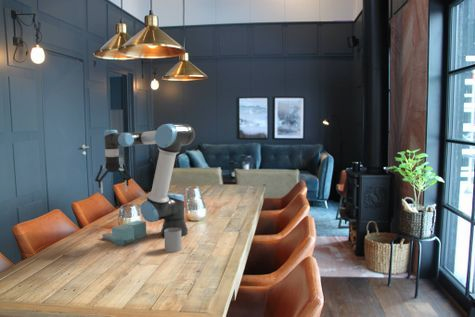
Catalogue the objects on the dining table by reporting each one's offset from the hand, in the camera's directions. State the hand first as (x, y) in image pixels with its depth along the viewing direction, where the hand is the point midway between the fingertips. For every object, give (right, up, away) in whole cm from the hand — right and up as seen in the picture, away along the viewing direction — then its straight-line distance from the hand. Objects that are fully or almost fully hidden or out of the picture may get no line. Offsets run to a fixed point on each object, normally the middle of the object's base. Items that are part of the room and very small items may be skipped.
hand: (114, 192), depth 235 cm
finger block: (+16, -24, -13) cm, 31 cm away
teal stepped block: (+8, -25, -20) cm, 33 cm away
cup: (+40, -26, -35) cm, 59 cm away
